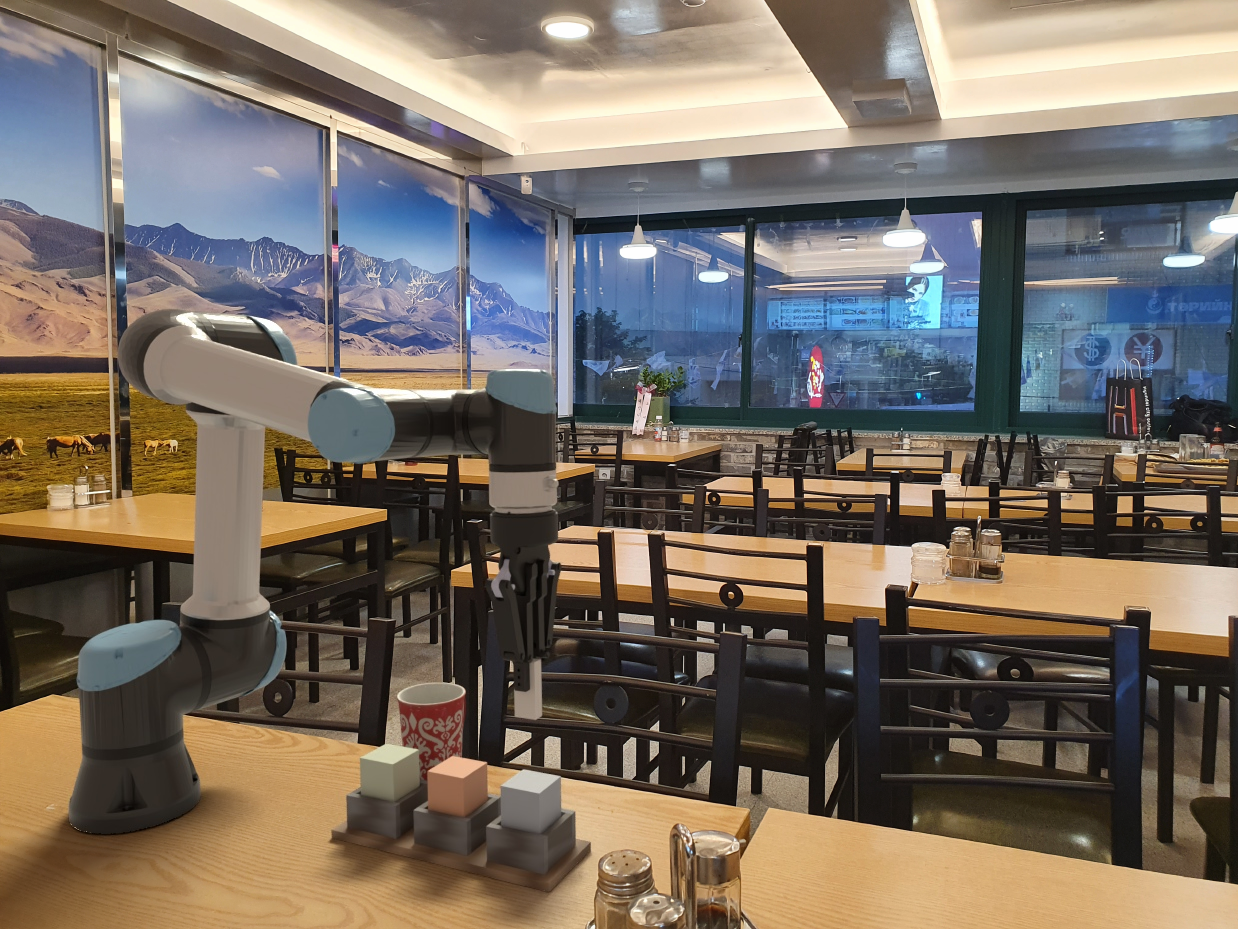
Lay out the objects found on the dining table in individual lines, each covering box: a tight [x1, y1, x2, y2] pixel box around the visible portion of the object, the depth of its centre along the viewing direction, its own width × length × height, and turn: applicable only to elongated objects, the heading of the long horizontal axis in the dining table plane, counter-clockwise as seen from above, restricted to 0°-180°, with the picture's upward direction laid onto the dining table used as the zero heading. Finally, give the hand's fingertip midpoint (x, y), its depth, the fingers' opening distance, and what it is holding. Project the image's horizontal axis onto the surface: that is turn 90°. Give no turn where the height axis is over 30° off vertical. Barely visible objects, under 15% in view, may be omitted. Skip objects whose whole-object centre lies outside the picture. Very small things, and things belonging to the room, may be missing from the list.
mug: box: [396, 682, 467, 781], centre depth 124 cm, size 13×9×14 cm
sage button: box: [359, 743, 420, 802], centre depth 112 cm, size 5×5×6 cm
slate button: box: [499, 769, 562, 834], centre depth 103 cm, size 5×5×6 cm
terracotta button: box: [427, 756, 489, 818], centre depth 107 cm, size 5×5×6 cm
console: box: [330, 779, 592, 893], centre depth 108 cm, size 30×10×5 cm, turn 65°
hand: (528, 716), depth 102 cm, fingers closed
